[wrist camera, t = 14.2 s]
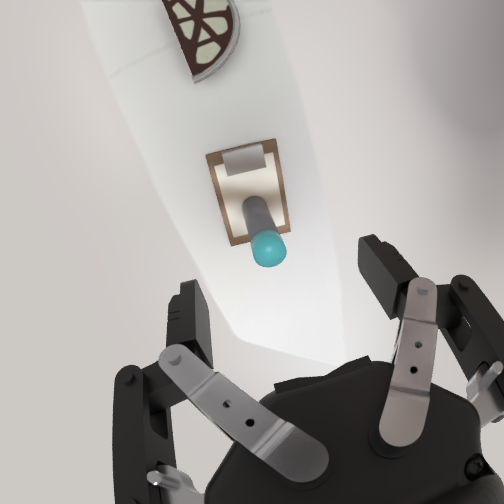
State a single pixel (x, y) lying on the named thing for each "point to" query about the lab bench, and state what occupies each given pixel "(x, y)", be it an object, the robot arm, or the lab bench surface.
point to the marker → (263, 232)
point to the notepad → (248, 185)
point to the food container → (205, 32)
